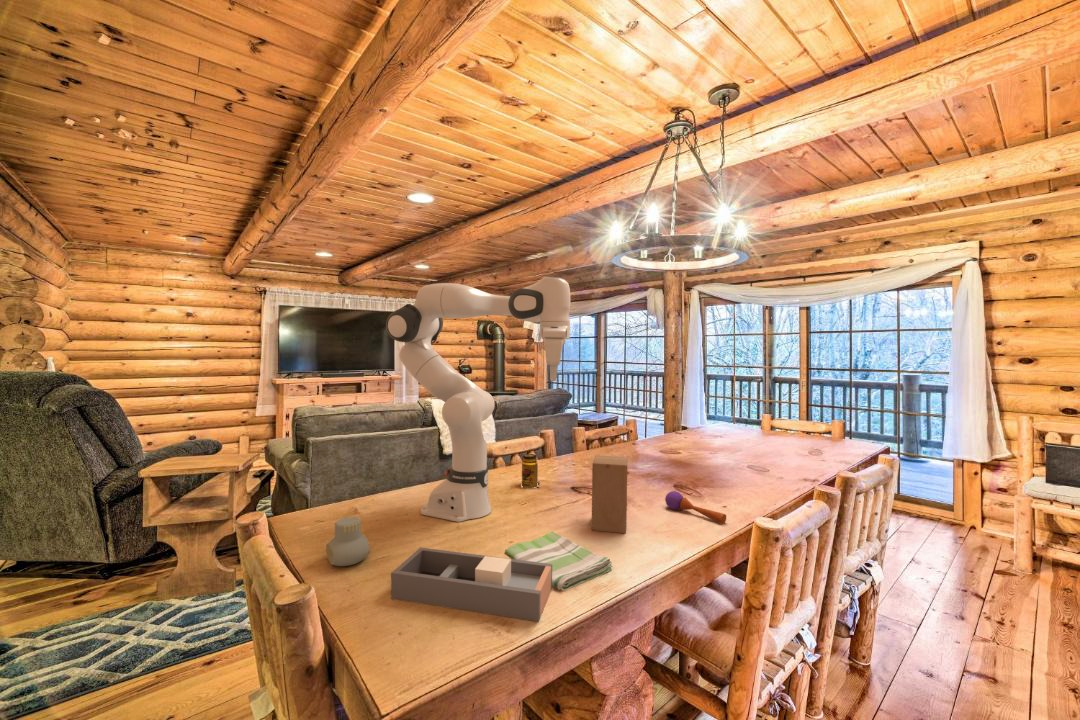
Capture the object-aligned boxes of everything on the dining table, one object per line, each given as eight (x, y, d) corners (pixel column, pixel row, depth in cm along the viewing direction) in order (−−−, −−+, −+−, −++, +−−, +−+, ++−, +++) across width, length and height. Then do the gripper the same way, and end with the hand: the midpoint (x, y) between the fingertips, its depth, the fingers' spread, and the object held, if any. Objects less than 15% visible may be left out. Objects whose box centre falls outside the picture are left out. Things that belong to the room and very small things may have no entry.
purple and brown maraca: (719, 514, 134) (661, 492, 149) (718, 532, 136) (662, 508, 150) (728, 506, 138) (671, 486, 153) (728, 523, 139) (671, 501, 154)
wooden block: (626, 534, 128) (627, 465, 128) (591, 530, 130) (592, 462, 130) (626, 520, 138) (627, 456, 138) (594, 518, 140) (595, 454, 140)
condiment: (520, 488, 169) (520, 457, 169) (521, 481, 177) (521, 451, 177) (539, 488, 169) (539, 457, 168) (539, 482, 177) (539, 452, 177)
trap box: (391, 598, 94) (391, 572, 94) (420, 570, 106) (420, 547, 106) (538, 621, 87) (539, 593, 87) (551, 588, 99) (552, 564, 99)
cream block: (474, 587, 93) (475, 569, 93) (485, 573, 99) (485, 556, 99) (502, 591, 92) (502, 572, 92) (511, 577, 98) (511, 559, 97)
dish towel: (559, 595, 97) (560, 579, 97) (502, 555, 116) (502, 542, 115) (614, 572, 108) (614, 557, 108) (554, 538, 126) (554, 526, 126)
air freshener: (372, 564, 109) (372, 523, 109) (336, 575, 104) (336, 532, 103) (358, 548, 117) (358, 510, 117) (324, 557, 112) (324, 518, 112)
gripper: (545, 333, 141) (544, 377, 141) (542, 330, 121) (541, 382, 121) (565, 333, 141) (564, 377, 141) (565, 331, 120) (564, 382, 121)
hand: (553, 379), depth 131 cm, fingers open, 8 cm apart
